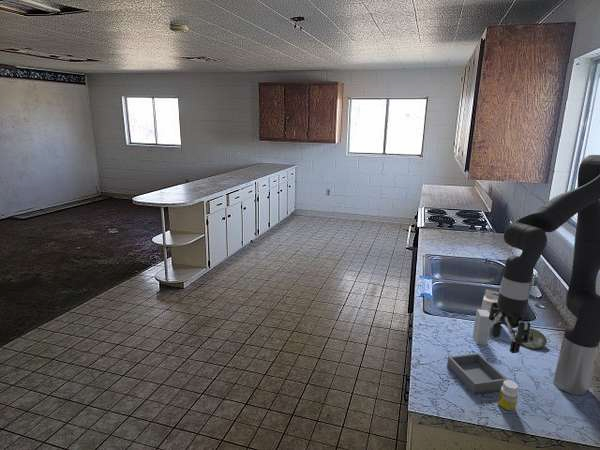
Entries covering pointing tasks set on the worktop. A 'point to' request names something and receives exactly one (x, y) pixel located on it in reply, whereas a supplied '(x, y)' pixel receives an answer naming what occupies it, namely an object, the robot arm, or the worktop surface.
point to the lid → (535, 340)
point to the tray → (476, 373)
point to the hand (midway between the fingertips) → (504, 344)
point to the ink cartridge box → (489, 301)
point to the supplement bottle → (508, 396)
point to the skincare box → (482, 327)
